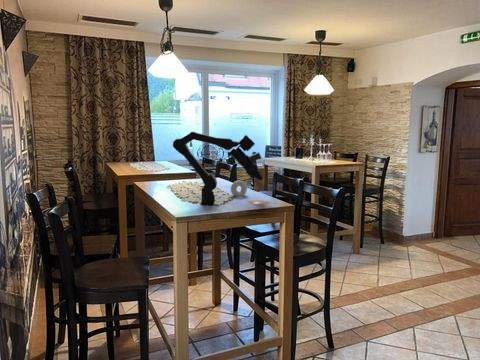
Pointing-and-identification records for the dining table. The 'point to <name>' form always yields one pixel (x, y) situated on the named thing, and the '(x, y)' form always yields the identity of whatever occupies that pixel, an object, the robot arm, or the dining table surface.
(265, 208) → the dining table surface
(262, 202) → the coaster
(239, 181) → the donut
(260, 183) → the walnut block
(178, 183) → the dining table surface
